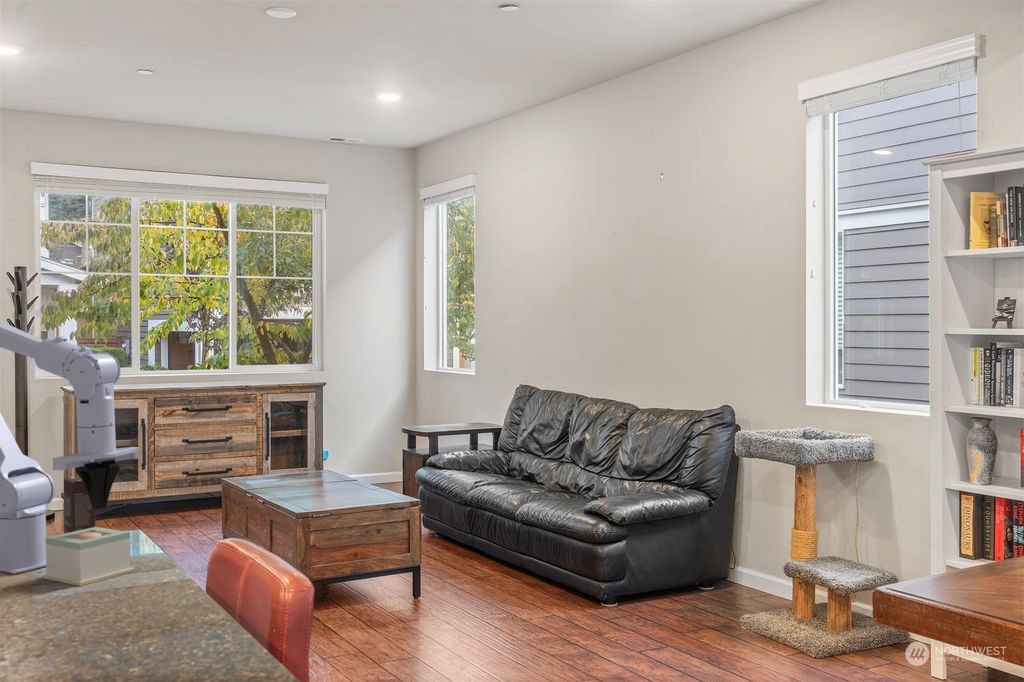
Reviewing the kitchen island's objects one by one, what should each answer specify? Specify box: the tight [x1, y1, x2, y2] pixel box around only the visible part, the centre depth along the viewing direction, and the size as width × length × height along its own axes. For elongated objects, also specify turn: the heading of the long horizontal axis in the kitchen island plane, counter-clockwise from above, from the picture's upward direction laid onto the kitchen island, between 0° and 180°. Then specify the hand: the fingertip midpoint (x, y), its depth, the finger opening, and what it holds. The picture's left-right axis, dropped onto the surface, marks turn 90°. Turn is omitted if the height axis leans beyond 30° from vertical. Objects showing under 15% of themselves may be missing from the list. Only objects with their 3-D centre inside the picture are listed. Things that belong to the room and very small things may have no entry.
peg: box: [74, 532, 101, 540], centre depth 153 cm, size 4×4×6 cm
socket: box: [41, 526, 136, 587], centre depth 153 cm, size 10×10×6 cm
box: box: [63, 476, 96, 534], centre depth 177 cm, size 6×4×12 cm
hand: (99, 507), depth 156 cm, fingers closed
